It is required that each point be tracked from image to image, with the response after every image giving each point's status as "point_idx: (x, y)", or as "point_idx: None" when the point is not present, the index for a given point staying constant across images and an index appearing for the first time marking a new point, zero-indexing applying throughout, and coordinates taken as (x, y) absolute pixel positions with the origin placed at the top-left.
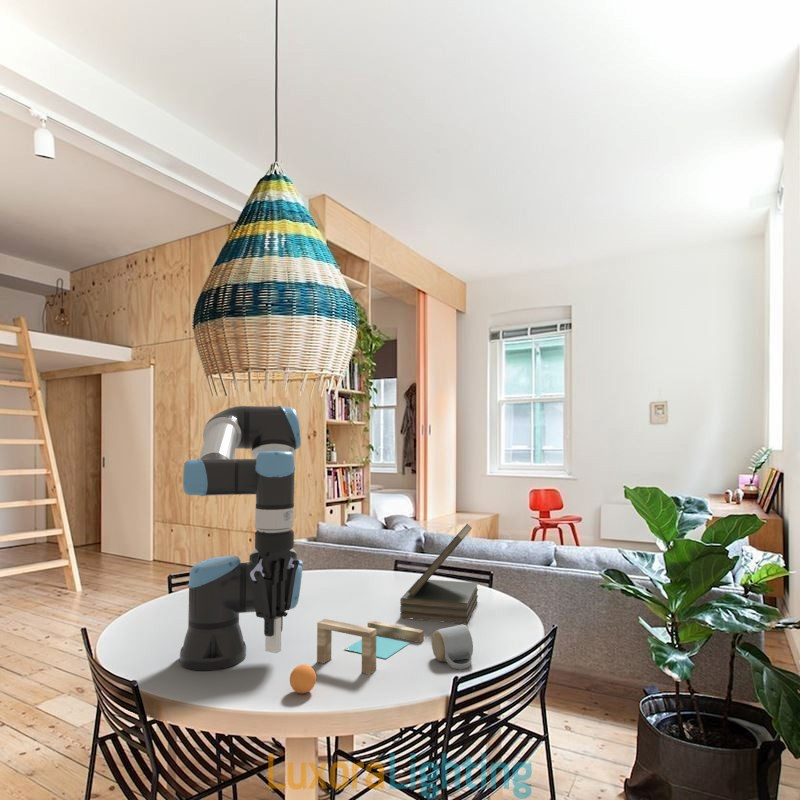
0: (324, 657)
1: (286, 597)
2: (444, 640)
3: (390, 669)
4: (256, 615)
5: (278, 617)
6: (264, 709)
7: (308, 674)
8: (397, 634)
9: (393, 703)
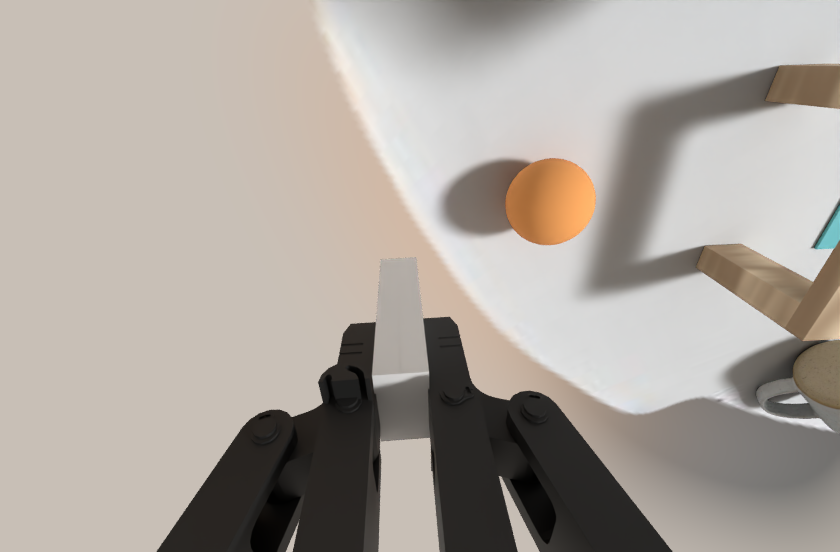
0: (787, 102)
1: (544, 546)
2: (838, 411)
3: None
4: (245, 426)
5: (417, 429)
6: (397, 170)
7: (540, 242)
8: None
9: (559, 374)
